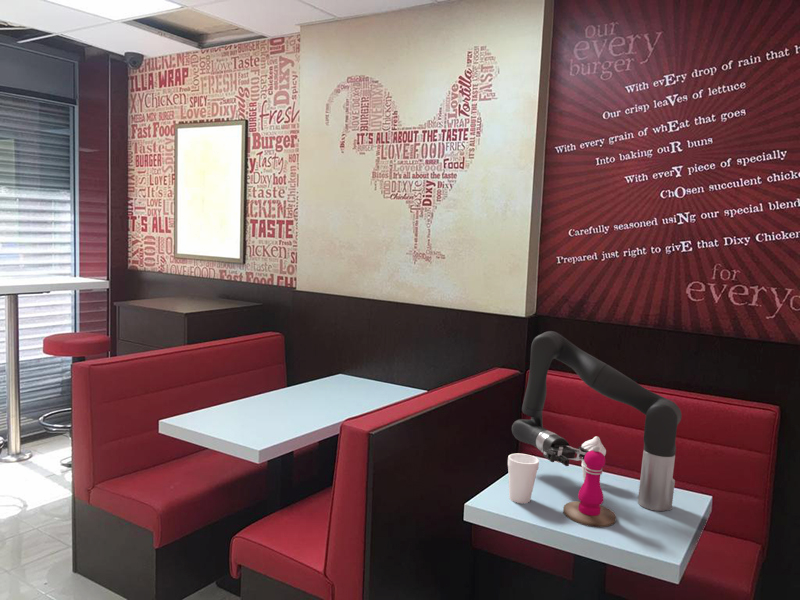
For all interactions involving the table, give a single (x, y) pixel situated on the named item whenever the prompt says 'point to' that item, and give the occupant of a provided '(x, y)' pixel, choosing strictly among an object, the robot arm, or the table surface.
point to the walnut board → (600, 520)
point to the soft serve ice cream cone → (589, 446)
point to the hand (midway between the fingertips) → (580, 462)
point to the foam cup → (521, 476)
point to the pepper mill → (592, 483)
